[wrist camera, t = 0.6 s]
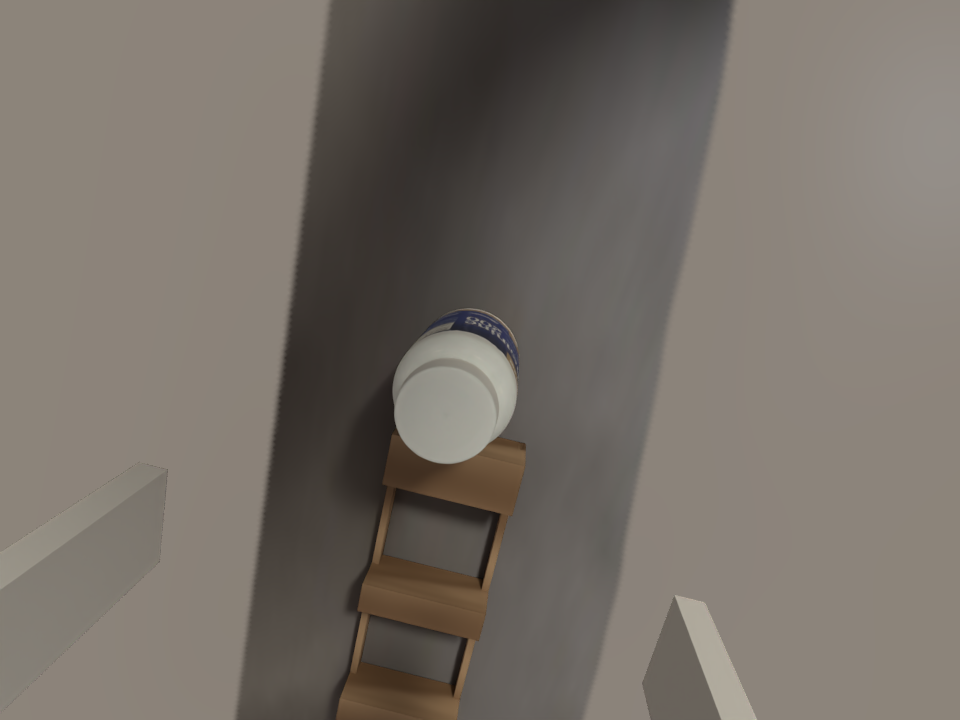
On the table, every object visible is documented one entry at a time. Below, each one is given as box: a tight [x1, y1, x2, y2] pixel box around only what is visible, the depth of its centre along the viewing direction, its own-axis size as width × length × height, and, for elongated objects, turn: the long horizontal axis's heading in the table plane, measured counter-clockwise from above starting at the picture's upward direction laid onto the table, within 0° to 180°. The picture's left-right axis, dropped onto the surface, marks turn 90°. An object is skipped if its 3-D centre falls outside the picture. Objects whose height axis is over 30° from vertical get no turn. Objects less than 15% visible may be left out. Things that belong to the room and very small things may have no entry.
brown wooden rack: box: [336, 428, 526, 720], centre depth 34 cm, size 20×7×3 cm, turn 167°
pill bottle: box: [392, 308, 519, 464], centre depth 27 cm, size 5×5×10 cm
